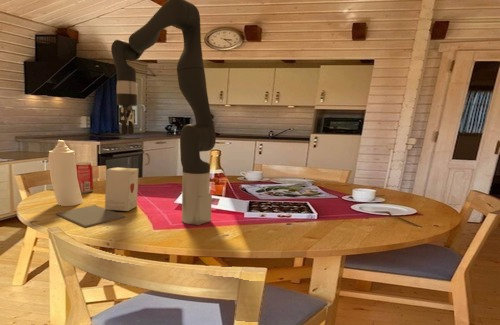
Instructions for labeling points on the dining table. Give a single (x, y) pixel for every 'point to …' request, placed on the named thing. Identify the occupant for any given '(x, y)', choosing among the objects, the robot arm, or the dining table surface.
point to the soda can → (85, 177)
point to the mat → (90, 215)
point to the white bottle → (64, 175)
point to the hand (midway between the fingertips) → (128, 134)
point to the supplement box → (121, 189)
